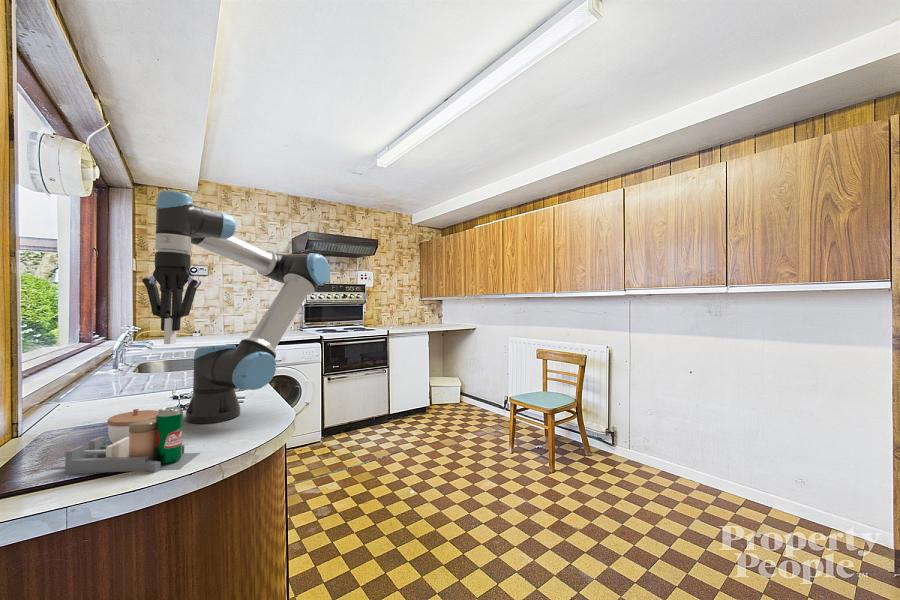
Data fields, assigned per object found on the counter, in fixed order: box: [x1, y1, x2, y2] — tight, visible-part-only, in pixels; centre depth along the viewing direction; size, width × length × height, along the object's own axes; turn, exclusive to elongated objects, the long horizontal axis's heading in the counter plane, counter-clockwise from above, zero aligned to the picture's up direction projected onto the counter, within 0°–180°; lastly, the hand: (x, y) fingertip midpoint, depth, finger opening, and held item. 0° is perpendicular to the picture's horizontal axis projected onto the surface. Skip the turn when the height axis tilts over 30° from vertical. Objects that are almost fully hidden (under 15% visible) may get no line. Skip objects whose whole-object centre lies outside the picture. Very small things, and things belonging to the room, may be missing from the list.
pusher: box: [64, 437, 129, 458], centre depth 86 cm, size 6×11×4 cm, turn 99°
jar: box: [129, 419, 156, 461], centre depth 87 cm, size 5×5×9 cm
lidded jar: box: [107, 408, 158, 444], centre depth 98 cm, size 11×11×9 cm
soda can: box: [154, 406, 184, 465], centre depth 88 cm, size 5×5×12 cm
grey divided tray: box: [64, 435, 201, 475], centre depth 87 cm, size 12×22×5 cm, turn 99°
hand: (170, 343), depth 98 cm, fingers closed
